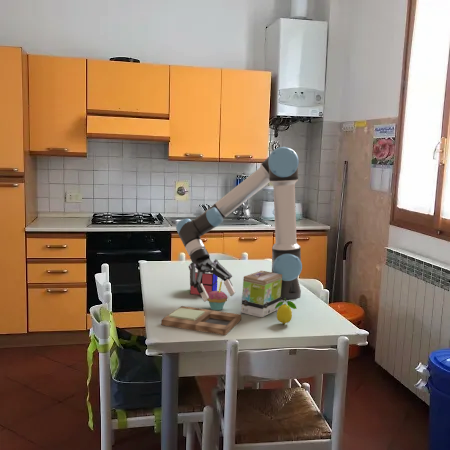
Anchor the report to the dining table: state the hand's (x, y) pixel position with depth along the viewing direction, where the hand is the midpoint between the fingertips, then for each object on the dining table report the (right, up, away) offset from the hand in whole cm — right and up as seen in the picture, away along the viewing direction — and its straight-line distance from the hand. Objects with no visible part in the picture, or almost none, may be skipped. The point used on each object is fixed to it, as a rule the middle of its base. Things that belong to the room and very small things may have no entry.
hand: (220, 297), depth 202 cm
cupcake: (-2, -5, +2) cm, 6 cm away
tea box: (+16, -6, +2) cm, 17 cm away
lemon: (+24, -8, -13) cm, 28 cm away
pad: (-12, -5, -13) cm, 18 cm away
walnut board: (-6, -7, -15) cm, 18 cm away
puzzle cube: (-8, -2, +25) cm, 26 cm away
